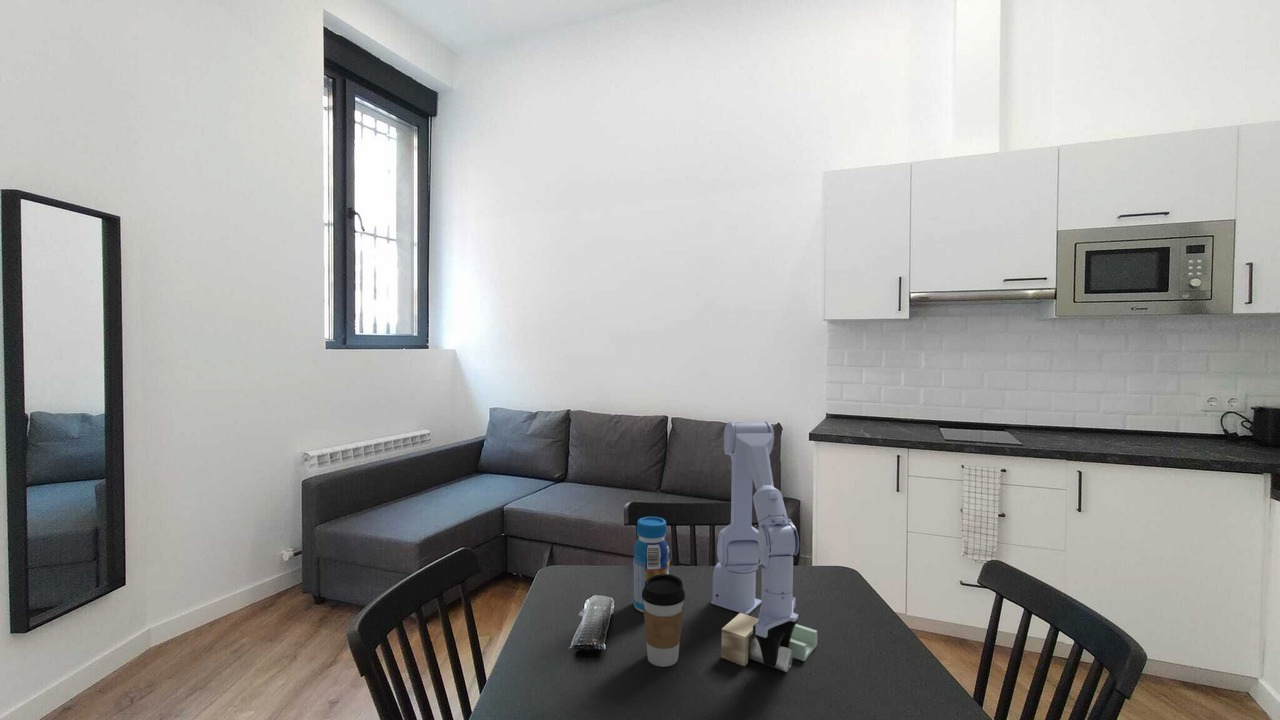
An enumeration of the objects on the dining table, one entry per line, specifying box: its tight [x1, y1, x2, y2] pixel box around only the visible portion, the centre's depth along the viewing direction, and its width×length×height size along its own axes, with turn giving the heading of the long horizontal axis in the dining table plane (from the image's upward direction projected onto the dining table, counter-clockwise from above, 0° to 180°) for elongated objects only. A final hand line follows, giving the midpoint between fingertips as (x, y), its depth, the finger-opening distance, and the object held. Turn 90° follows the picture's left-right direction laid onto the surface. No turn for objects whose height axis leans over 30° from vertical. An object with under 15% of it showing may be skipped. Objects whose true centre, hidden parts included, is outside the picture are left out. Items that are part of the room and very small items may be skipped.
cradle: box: [789, 623, 818, 662], centre depth 116 cm, size 9×7×3 cm
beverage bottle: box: [632, 516, 671, 613], centre depth 132 cm, size 8×8×20 cm
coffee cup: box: [642, 573, 686, 668], centre depth 111 cm, size 8×8×15 cm
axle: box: [748, 635, 794, 673], centre depth 111 cm, size 12×4×4 cm, turn 54°
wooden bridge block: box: [720, 612, 759, 667], centre depth 113 cm, size 5×8×6 cm, turn 144°
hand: (775, 657), depth 109 cm, fingers open, 5 cm apart
